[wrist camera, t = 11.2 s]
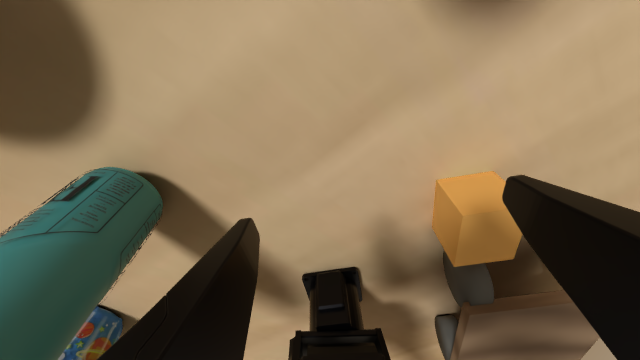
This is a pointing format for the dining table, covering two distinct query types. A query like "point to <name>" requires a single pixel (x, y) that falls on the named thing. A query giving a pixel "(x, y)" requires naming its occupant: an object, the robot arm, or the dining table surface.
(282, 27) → the dining table surface
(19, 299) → the beverage bottle
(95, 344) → the snack cup
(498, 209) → the block
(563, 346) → the trolley
